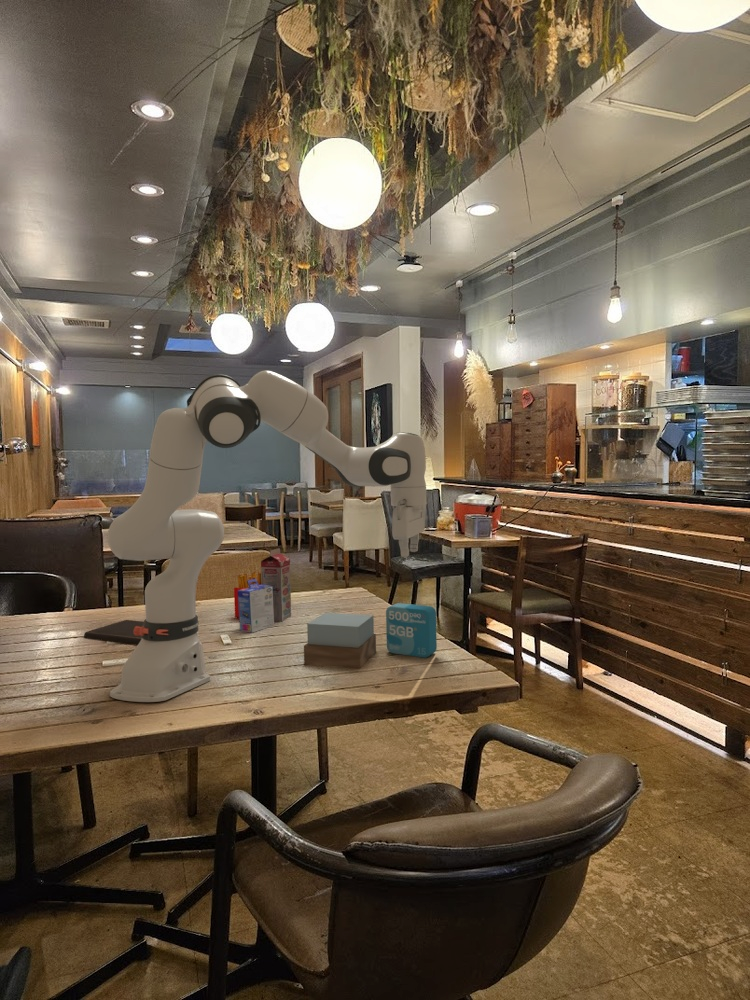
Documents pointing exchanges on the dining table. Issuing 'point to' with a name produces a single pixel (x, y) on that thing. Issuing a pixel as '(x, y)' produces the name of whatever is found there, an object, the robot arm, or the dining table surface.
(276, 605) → the juice carton
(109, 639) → the hardcover book
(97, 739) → the dining table surface
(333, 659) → the walnut base block
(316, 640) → the slate top block
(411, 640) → the data package
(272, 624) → the ink cartridge box
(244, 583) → the french fries container
